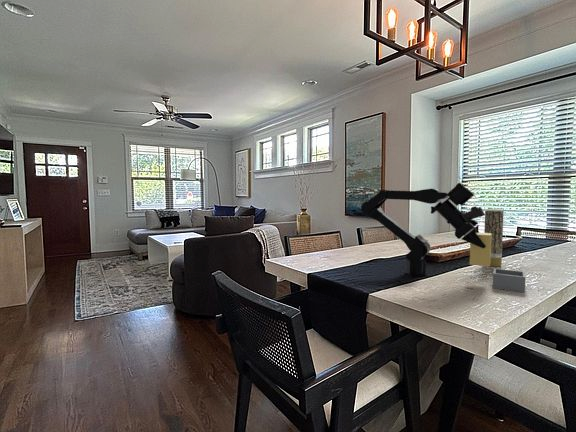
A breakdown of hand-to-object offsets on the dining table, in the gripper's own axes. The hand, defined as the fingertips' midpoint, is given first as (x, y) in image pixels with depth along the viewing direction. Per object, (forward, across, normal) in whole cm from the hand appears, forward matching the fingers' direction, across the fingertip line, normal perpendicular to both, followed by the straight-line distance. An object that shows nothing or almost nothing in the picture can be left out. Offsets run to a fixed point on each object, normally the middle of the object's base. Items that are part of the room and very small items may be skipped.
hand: (485, 246), depth 111 cm
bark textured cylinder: (+10, +35, +9) cm, 37 cm away
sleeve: (+15, 0, +4) cm, 15 cm away
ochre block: (+4, 0, +6) cm, 7 cm away
